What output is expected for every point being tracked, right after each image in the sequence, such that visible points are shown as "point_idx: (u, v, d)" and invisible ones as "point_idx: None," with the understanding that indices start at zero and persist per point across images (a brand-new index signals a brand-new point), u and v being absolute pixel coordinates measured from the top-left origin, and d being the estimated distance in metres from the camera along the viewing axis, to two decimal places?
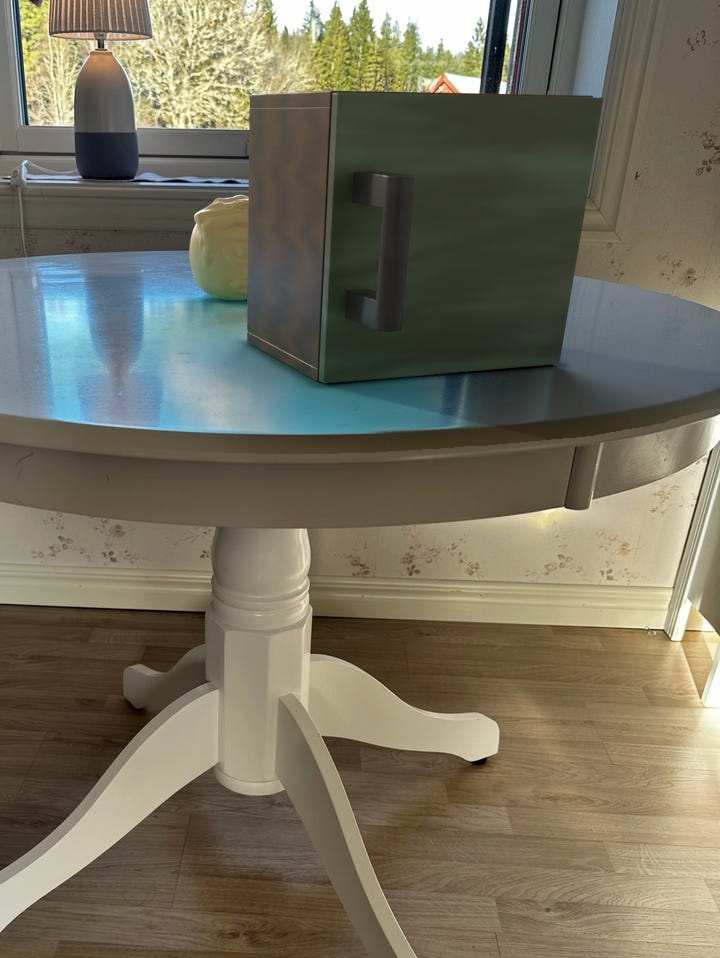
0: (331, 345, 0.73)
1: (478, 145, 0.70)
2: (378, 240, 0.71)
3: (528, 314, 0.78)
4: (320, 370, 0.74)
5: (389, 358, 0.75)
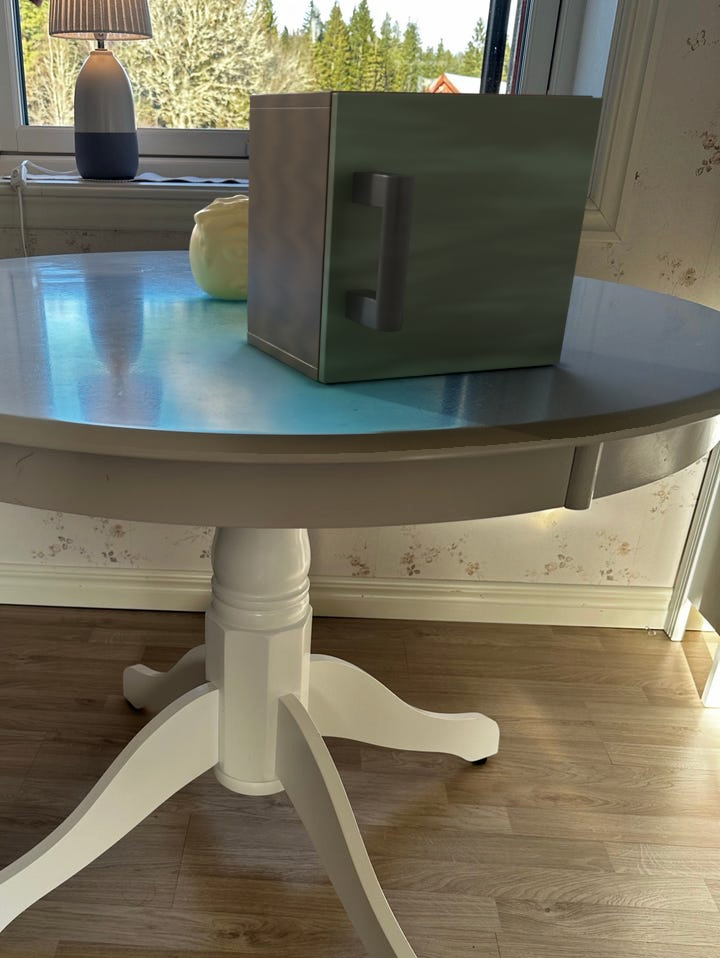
0: (331, 345, 0.73)
1: (478, 145, 0.70)
2: (378, 240, 0.71)
3: (528, 314, 0.78)
4: (320, 370, 0.74)
5: (389, 358, 0.75)
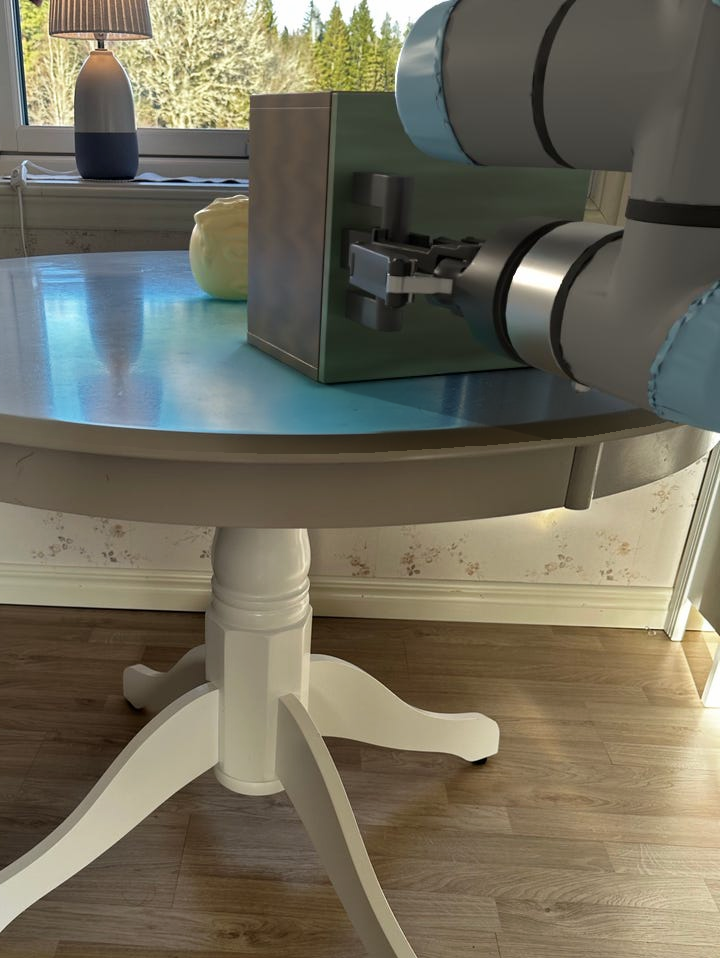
0: (331, 345, 0.73)
1: None
2: None
3: None
4: (320, 370, 0.74)
5: (389, 358, 0.75)
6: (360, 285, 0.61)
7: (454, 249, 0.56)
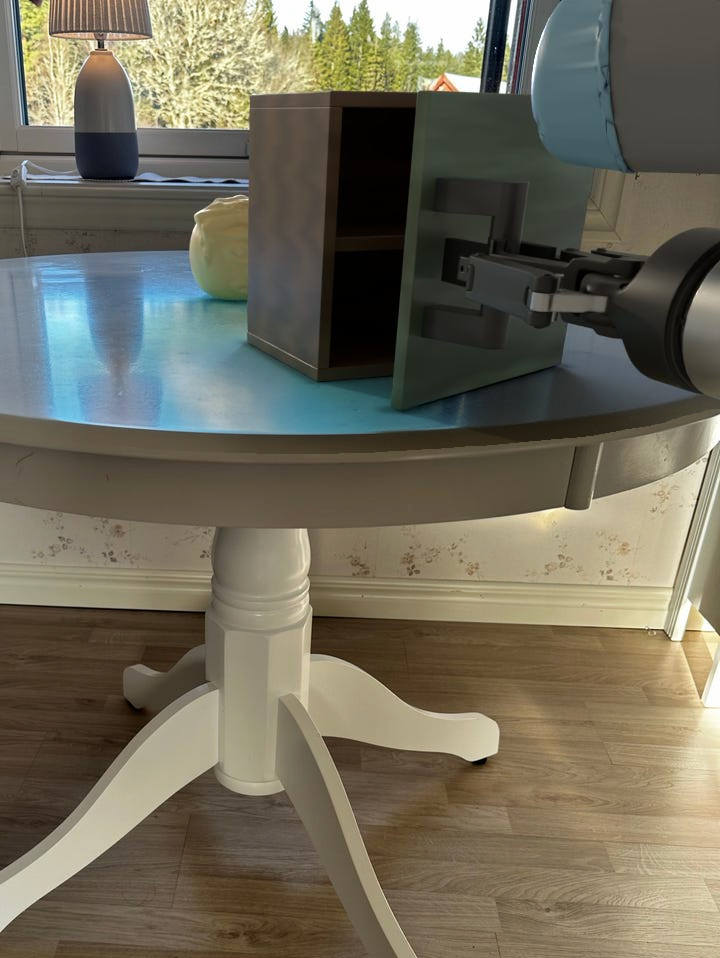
0: (409, 368, 0.67)
1: (524, 147, 0.67)
2: None
3: None
4: (395, 396, 0.68)
5: (450, 375, 0.70)
6: (482, 301, 0.56)
7: (602, 263, 0.51)
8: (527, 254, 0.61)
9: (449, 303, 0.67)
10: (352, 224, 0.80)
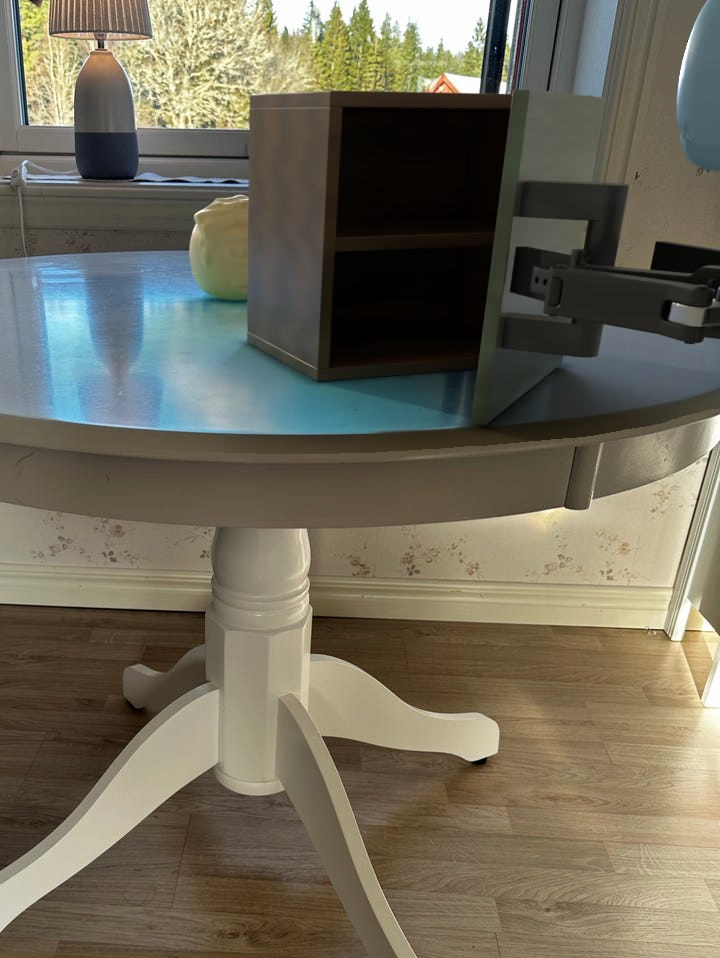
0: (492, 381, 0.63)
1: (567, 148, 0.65)
2: None
3: None
4: (477, 411, 0.64)
5: (511, 385, 0.68)
6: (581, 317, 0.52)
7: None
8: (705, 260, 0.59)
9: (517, 311, 0.65)
10: (352, 224, 0.80)
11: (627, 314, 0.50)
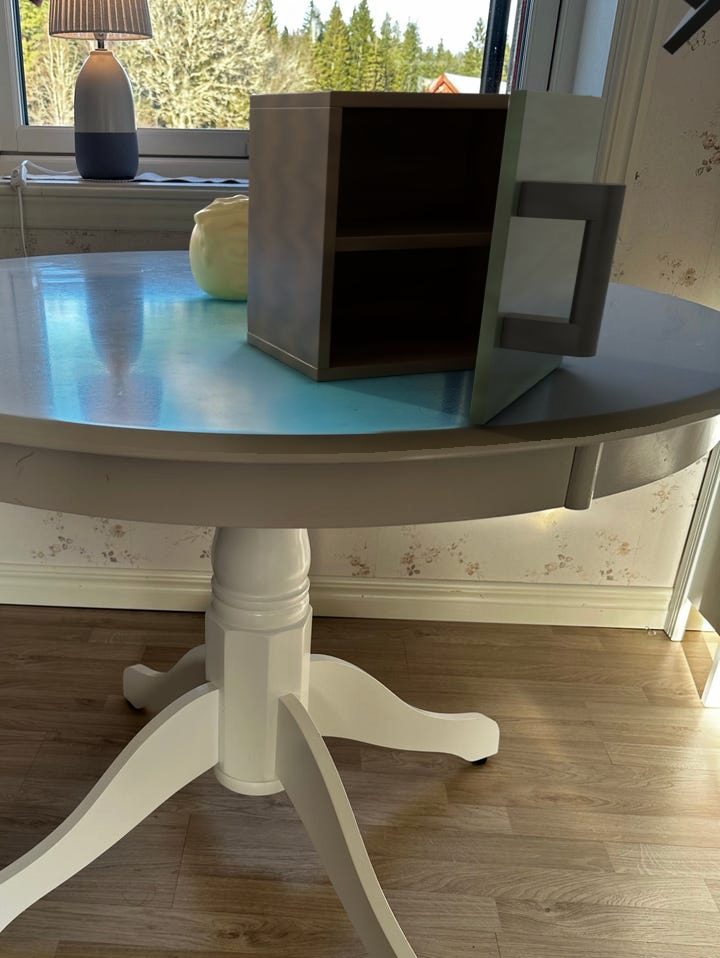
0: (490, 381, 0.63)
1: (565, 148, 0.65)
2: (521, 257, 0.63)
3: None
4: (475, 411, 0.64)
5: (509, 385, 0.68)
6: None
7: None
8: None
9: (516, 311, 0.65)
10: (352, 224, 0.80)
11: None
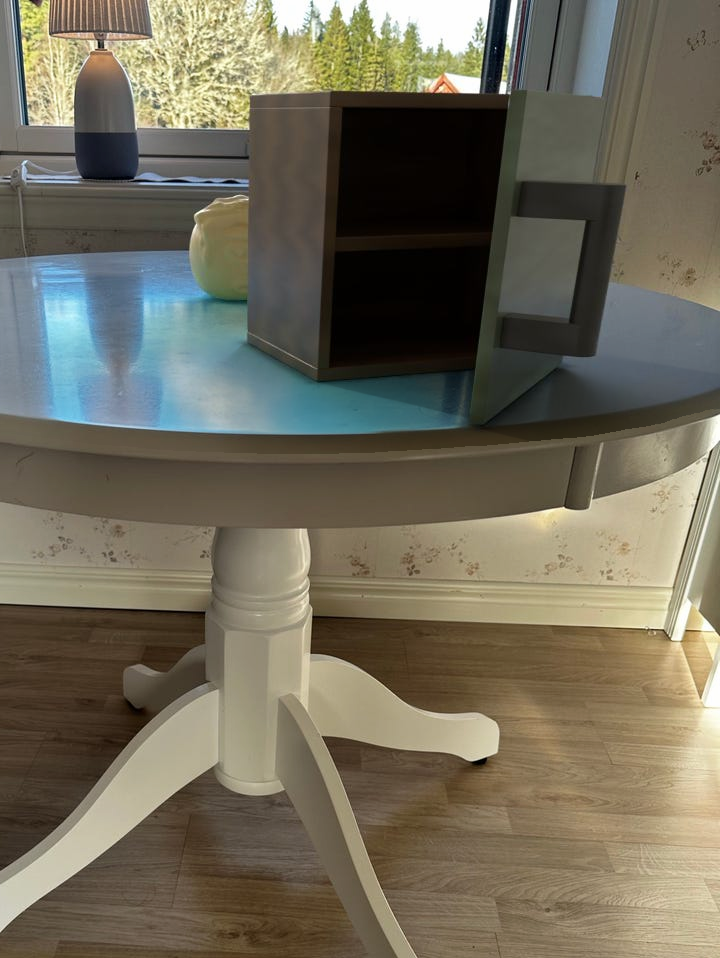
0: (490, 381, 0.63)
1: (565, 148, 0.65)
2: (521, 257, 0.63)
3: None
4: (475, 411, 0.64)
5: (509, 385, 0.68)
6: None
7: None
8: None
9: (516, 311, 0.65)
10: (352, 224, 0.80)
11: None
